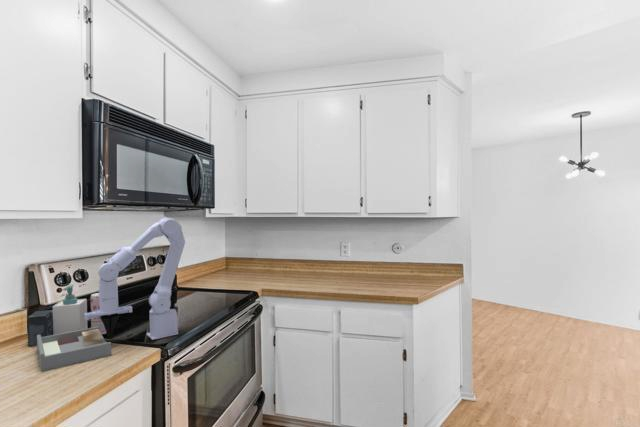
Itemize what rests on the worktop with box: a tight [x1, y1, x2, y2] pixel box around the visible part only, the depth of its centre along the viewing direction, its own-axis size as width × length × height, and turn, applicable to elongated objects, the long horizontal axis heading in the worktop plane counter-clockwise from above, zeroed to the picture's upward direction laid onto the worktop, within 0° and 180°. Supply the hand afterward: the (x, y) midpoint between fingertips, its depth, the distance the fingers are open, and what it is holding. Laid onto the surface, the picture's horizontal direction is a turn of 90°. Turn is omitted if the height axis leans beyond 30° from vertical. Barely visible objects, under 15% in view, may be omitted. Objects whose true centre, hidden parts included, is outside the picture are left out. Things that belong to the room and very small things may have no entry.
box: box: [27, 309, 53, 348], centre depth 136 cm, size 8×6×11 cm
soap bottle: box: [52, 284, 88, 335], centre depth 141 cm, size 9×9×19 cm
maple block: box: [82, 329, 101, 346], centre depth 129 cm, size 5×5×4 cm
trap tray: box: [36, 326, 112, 372], centre depth 126 cm, size 18×22×5 cm
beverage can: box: [90, 292, 107, 336], centre depth 145 cm, size 6×6×15 cm
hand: (109, 336), depth 133 cm, fingers closed
